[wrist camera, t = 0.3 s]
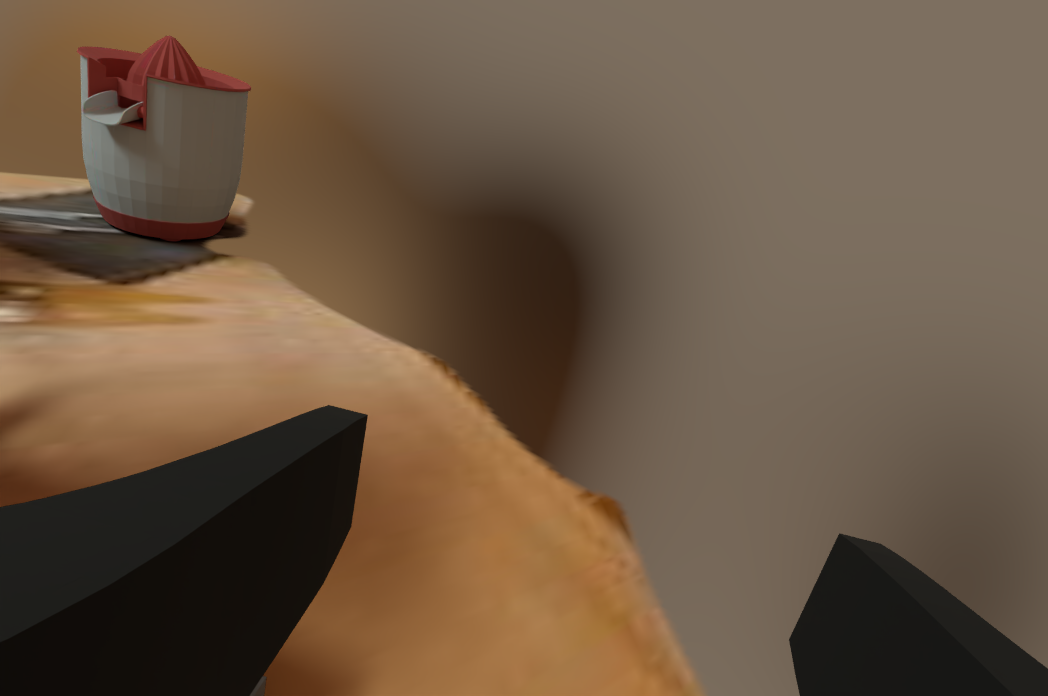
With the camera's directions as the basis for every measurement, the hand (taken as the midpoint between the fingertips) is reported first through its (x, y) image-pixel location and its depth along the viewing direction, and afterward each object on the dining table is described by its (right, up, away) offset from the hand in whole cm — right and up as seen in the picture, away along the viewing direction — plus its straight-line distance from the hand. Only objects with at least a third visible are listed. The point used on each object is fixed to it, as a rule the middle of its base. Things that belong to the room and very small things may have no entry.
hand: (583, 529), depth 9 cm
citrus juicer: (-42, +16, +61) cm, 76 cm away
